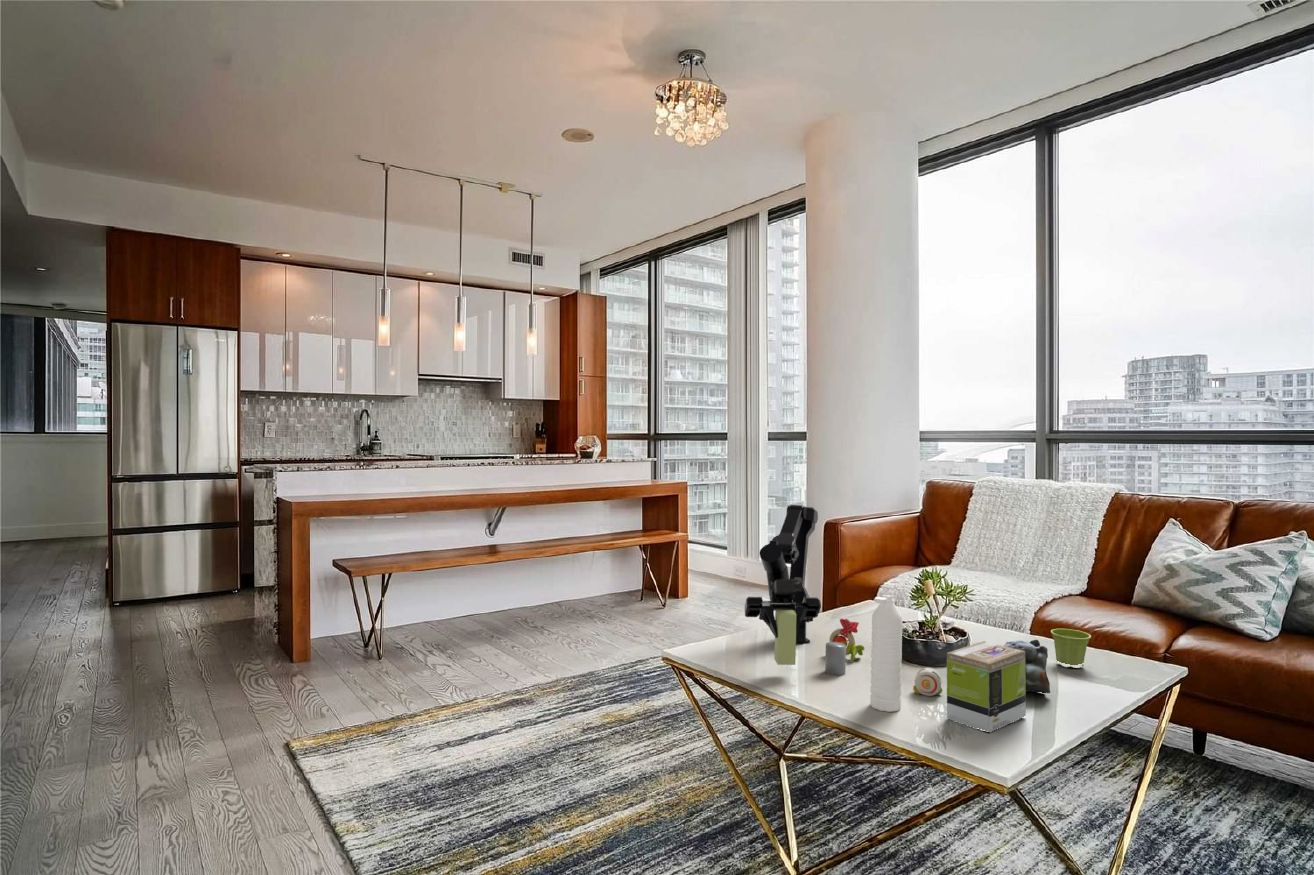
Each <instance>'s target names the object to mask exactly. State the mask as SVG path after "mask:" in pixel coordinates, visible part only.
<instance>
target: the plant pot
mask: <svg viewBox="0 0 1314 875" xmlns="http://www.w3.org/2000/svg"><path fill="white" fill-rule="evenodd" d="M1050 633H1051V634H1052V639H1053V643H1054V649H1055V658H1056V660H1057V661H1059V662H1061V663H1065V664H1070V665H1078V664H1082V663H1085V657H1086V652H1087V647H1088V644H1089V642H1090V639H1091V638H1092V635H1091V634H1090V633H1088V632H1085V631H1081V630H1077V629H1071V628H1070V629H1069V628H1055V629H1051V630H1050ZM1057 661H1056V662H1057Z"/></svg>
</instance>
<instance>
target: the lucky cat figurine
mask: <svg viewBox="0 0 1314 875" xmlns="http://www.w3.org/2000/svg"><path fill="white" fill-rule="evenodd" d="M1003 646H1005V647H1009V648H1013V649H1018V650H1022V651H1025V676H1026V692H1031V693H1035V692H1042V693H1046V694H1051V689H1050V688H1051V686H1050V685H1051V683H1050V679H1049V677H1048V674H1047V673H1048V672H1047V663H1048V662H1047V661H1048V660H1047V659H1048V656H1049V653H1048V651H1049V650H1048V648H1047V647H1046V645H1045V646H1044V645H1041V643H1040V641H1039V640H1038V639H1034V640H1030V641H1026V640H1014V641H1013V640H1012V641H1006V642H1005V644H1004V645H1003Z"/></svg>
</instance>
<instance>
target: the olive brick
mask: <svg viewBox="0 0 1314 875" xmlns="http://www.w3.org/2000/svg"><path fill="white" fill-rule="evenodd" d="M774 613H775V614H774V617H775V622H776V626H777V632H778V637H777V638H776V637H775V636H774V655H773V656H774V661H775V662H776V664H777V665H778V666H780V665H781V666H783V665H784V666H793V665H794V666H795V665H796V656H797V650H796V649H797V646H796V645H797V643H796V613H795V612H794V611H793V610H775V611H774Z"/></svg>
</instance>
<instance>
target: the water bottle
mask: <svg viewBox="0 0 1314 875" xmlns="http://www.w3.org/2000/svg"><path fill="white" fill-rule="evenodd" d="M881 596H882V597H881ZM881 596H876V597H875V598H874V603H876V604H879V605H878V606H877V607H876V608H875V610H874V611H873V613H872V617H871V654H870V657H871V662H870V667H871V669H870V696H869V697H870V698H869V700H870V701H869V702H870V703H869V704H870V706H871V707H872V709H875V710H878V711H880V712H886V713H887V712H888V713H892V712H893V713H894V712H899V711H900V710H901V706H902V698H901V696H902V688H901V687H902V667H903V666H902V661H903V660H902V659H903V657H902V656H903V653H902V652H903V651H902V650H903V649H902V648H903V647H902V646H903V644H902V643H903V637H902V636H903V623H904V622H903V614H901V611H900V610H899V609H898V607H897V606H896V604H895V603H894V600H895V599H894V596H893V595H891V594H882V595H881Z"/></svg>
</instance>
